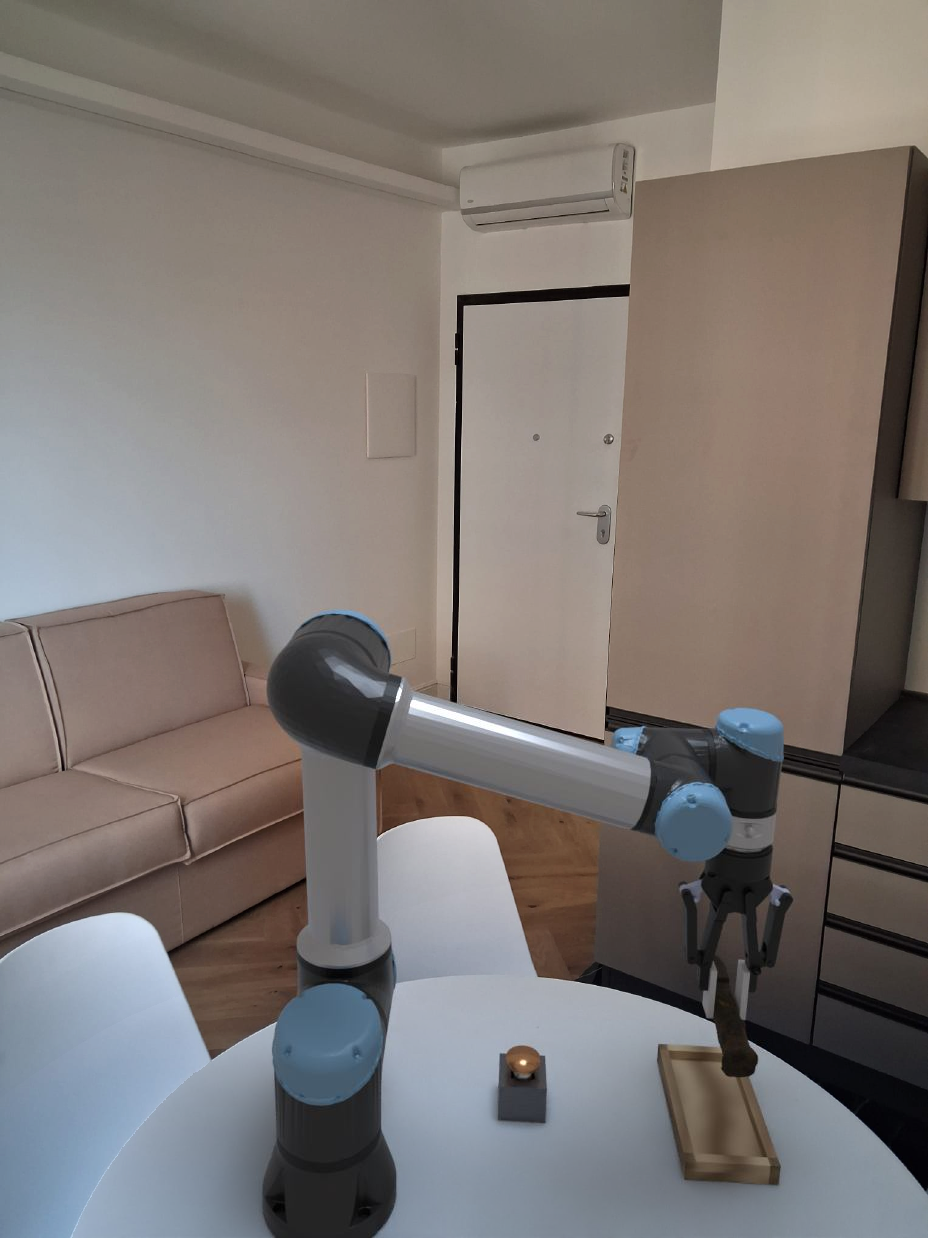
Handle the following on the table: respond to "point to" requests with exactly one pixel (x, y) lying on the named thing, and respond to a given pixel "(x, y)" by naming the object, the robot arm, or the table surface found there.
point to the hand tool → (731, 1029)
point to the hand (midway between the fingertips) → (723, 1011)
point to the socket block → (522, 1094)
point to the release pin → (522, 1061)
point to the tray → (715, 1118)
